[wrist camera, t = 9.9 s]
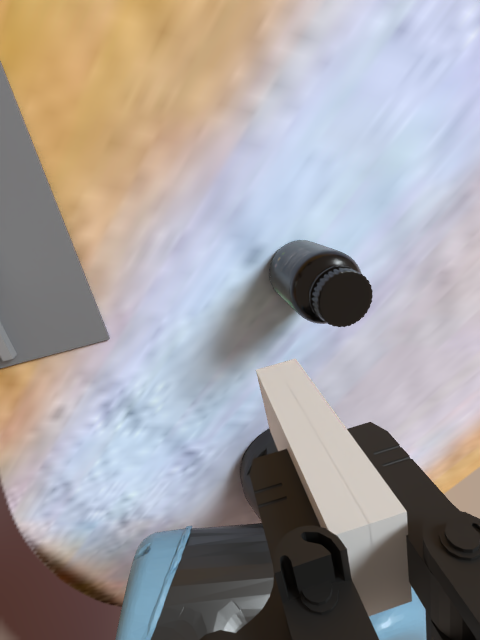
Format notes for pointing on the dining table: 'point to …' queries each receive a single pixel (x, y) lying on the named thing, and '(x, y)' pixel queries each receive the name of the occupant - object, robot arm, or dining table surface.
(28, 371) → the dining table surface
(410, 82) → the dining table surface
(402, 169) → the dining table surface
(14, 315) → the board
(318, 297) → the supplement bottle
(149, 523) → the dining table surface
